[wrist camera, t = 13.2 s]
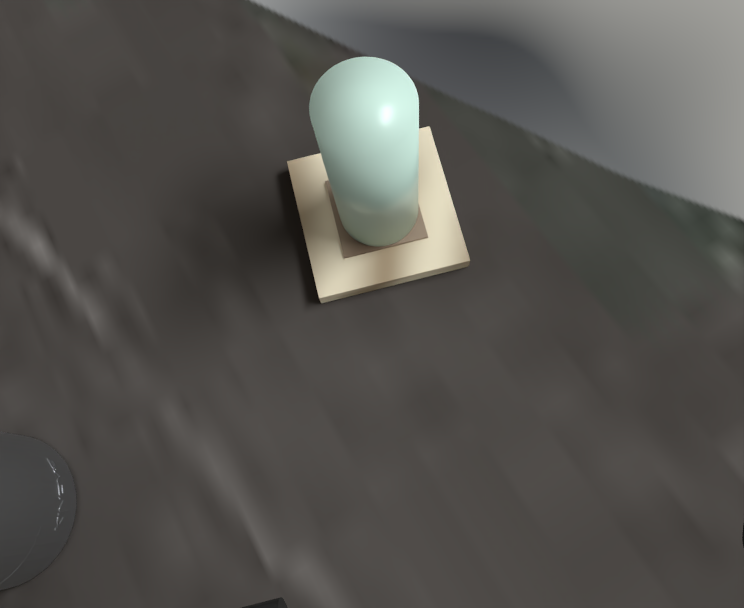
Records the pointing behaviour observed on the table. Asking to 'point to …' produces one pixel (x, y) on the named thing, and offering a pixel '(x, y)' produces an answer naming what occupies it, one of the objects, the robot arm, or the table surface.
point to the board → (370, 263)
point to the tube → (369, 146)
